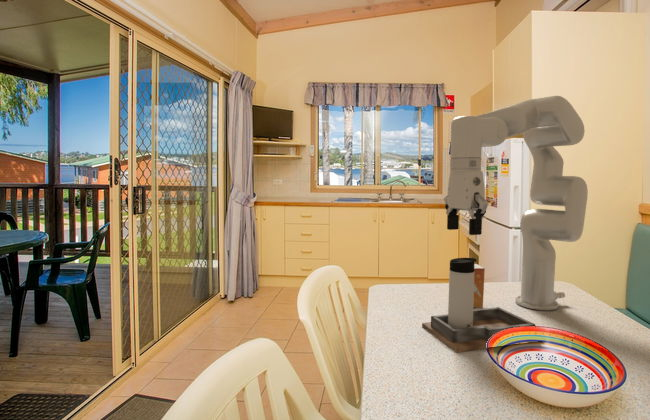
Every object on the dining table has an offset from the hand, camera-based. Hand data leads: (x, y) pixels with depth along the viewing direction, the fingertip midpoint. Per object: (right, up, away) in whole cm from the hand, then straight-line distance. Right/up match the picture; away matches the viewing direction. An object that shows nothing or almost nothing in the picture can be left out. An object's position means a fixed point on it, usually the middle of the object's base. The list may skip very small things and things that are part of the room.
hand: (463, 231), depth 103 cm
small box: (+11, -26, +28) cm, 40 cm away
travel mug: (0, -27, +2) cm, 27 cm away
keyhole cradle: (+6, -28, +4) cm, 29 cm away
